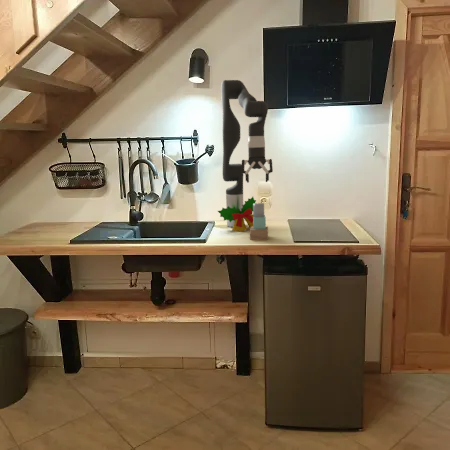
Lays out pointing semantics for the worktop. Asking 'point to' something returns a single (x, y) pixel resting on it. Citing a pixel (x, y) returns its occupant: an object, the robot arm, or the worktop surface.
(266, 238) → the plinth
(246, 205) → the ornament
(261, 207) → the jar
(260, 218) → the cube
